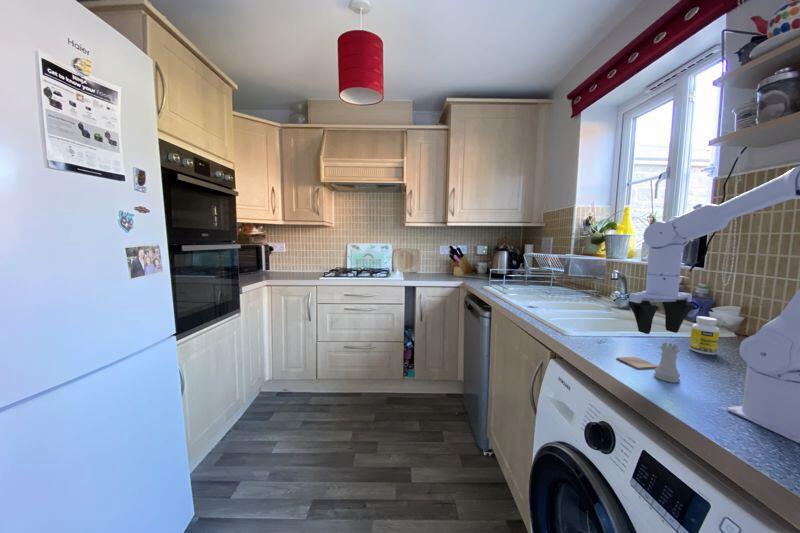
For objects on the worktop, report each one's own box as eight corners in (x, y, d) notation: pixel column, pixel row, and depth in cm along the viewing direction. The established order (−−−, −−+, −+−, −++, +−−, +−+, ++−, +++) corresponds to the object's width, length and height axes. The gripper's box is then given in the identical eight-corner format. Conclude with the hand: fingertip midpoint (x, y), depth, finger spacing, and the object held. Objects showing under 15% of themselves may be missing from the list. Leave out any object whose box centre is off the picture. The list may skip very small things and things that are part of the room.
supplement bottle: (698, 354, 81) (702, 319, 80) (684, 347, 86) (687, 314, 85) (722, 356, 80) (726, 321, 79) (706, 349, 85) (710, 316, 84)
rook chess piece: (685, 384, 63) (689, 349, 63) (661, 382, 64) (665, 347, 63) (670, 375, 68) (674, 342, 67) (648, 373, 69) (652, 340, 68)
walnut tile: (659, 368, 71) (659, 366, 71) (637, 370, 71) (638, 367, 70) (636, 358, 77) (636, 356, 77) (616, 359, 76) (616, 357, 76)
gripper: (671, 272, 72) (666, 326, 73) (620, 273, 70) (615, 327, 71) (704, 276, 65) (698, 335, 66) (648, 276, 63) (643, 337, 64)
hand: (657, 332), depth 68 cm, fingers open, 7 cm apart
